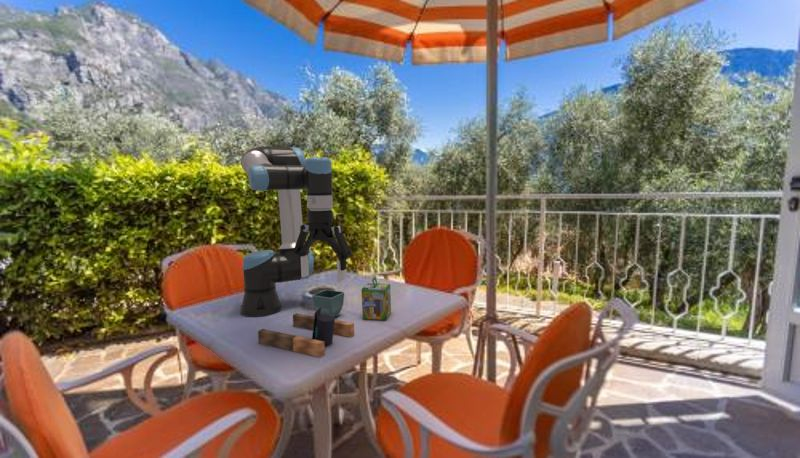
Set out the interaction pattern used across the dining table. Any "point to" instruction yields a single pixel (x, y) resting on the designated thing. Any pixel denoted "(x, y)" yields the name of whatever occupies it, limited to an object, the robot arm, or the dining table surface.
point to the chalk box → (376, 301)
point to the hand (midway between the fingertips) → (322, 278)
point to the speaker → (323, 328)
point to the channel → (303, 343)
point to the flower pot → (328, 302)
